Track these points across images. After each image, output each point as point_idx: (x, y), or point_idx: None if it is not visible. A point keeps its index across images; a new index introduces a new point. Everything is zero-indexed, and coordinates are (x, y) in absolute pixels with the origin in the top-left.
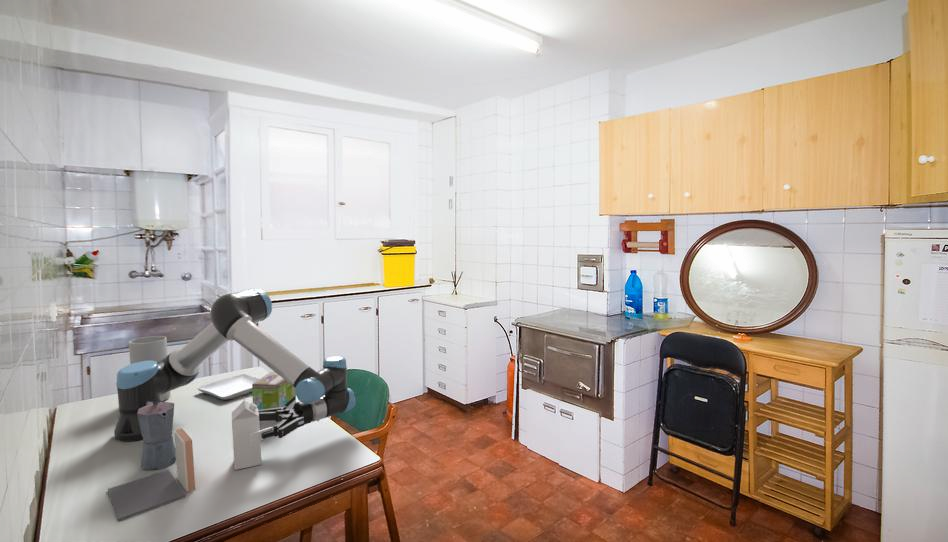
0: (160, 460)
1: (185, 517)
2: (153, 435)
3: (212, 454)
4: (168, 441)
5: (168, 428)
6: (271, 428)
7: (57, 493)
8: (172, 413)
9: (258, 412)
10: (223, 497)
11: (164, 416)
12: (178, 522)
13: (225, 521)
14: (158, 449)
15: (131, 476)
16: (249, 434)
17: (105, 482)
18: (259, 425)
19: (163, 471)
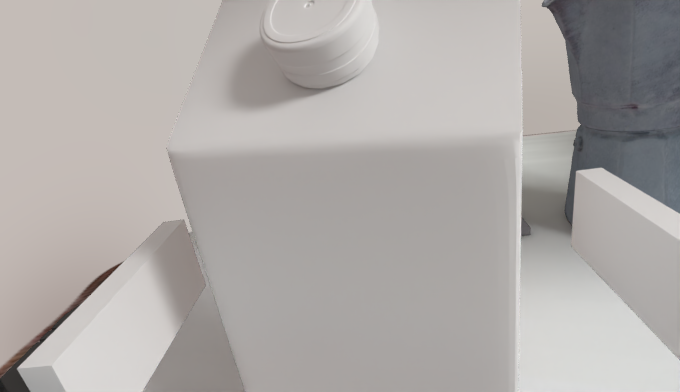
0: (573, 194)
1: (200, 257)
2: (573, 86)
3: (665, 345)
4: (609, 143)
5: (605, 81)
6: (30, 364)
7: (527, 141)
8: (625, 8)
9: (315, 153)
10: (184, 324)
11: (544, 3)
12: (196, 248)
13: (64, 311)
14: (577, 151)
15: (547, 189)
16: (166, 223)
17: (538, 168)
18: (205, 264)
19: (521, 220)
